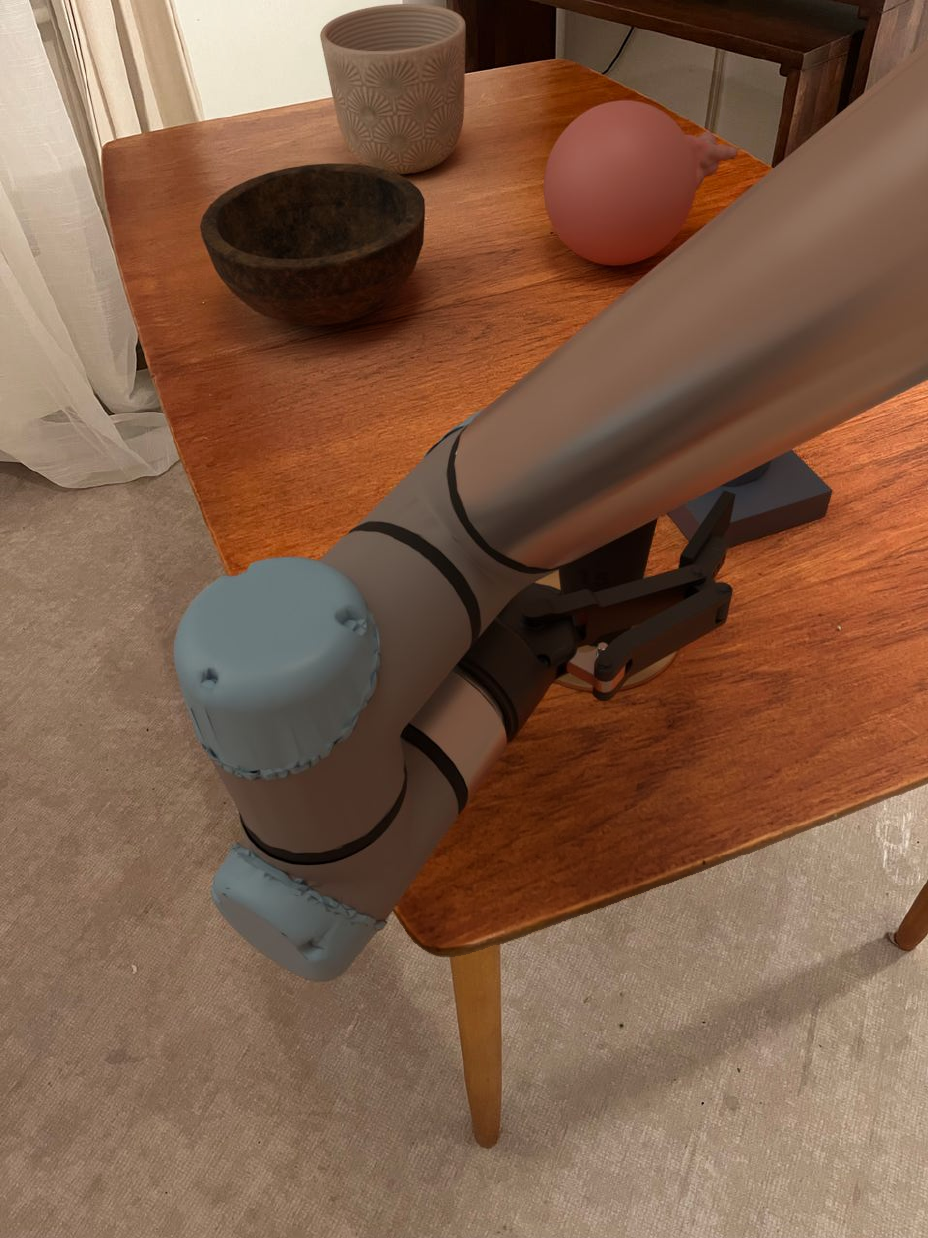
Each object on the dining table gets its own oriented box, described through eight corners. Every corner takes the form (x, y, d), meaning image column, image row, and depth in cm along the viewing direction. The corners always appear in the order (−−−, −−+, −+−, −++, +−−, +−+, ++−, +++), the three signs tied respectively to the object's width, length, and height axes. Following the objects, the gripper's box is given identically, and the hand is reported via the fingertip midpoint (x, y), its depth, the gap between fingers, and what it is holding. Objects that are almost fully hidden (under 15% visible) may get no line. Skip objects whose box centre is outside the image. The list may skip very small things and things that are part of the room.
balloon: (749, 278, 101) (776, 123, 90) (558, 301, 100) (562, 146, 89) (704, 211, 112) (723, 64, 100) (531, 231, 110) (531, 84, 99)
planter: (326, 146, 129) (306, 16, 118) (449, 124, 132) (441, -5, 121) (355, 199, 118) (337, 61, 107) (489, 174, 121) (484, 37, 110)
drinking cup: (542, 583, 73) (545, 347, 58) (646, 582, 72) (675, 344, 57) (544, 663, 68) (547, 426, 53) (656, 662, 67) (690, 423, 52)
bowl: (397, 237, 111) (387, 147, 104) (462, 333, 97) (456, 236, 90) (207, 279, 107) (183, 188, 100) (246, 385, 93) (222, 288, 85)
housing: (825, 516, 77) (838, 471, 73) (701, 556, 74) (708, 511, 71) (730, 418, 86) (738, 374, 82) (617, 451, 83) (620, 407, 80)
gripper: (285, 659, 60) (470, 463, 71) (660, 844, 50) (804, 582, 62) (259, 572, 54) (465, 375, 66) (676, 761, 44) (830, 491, 56)
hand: (629, 475), depth 64 cm, fingers open, 13 cm apart
